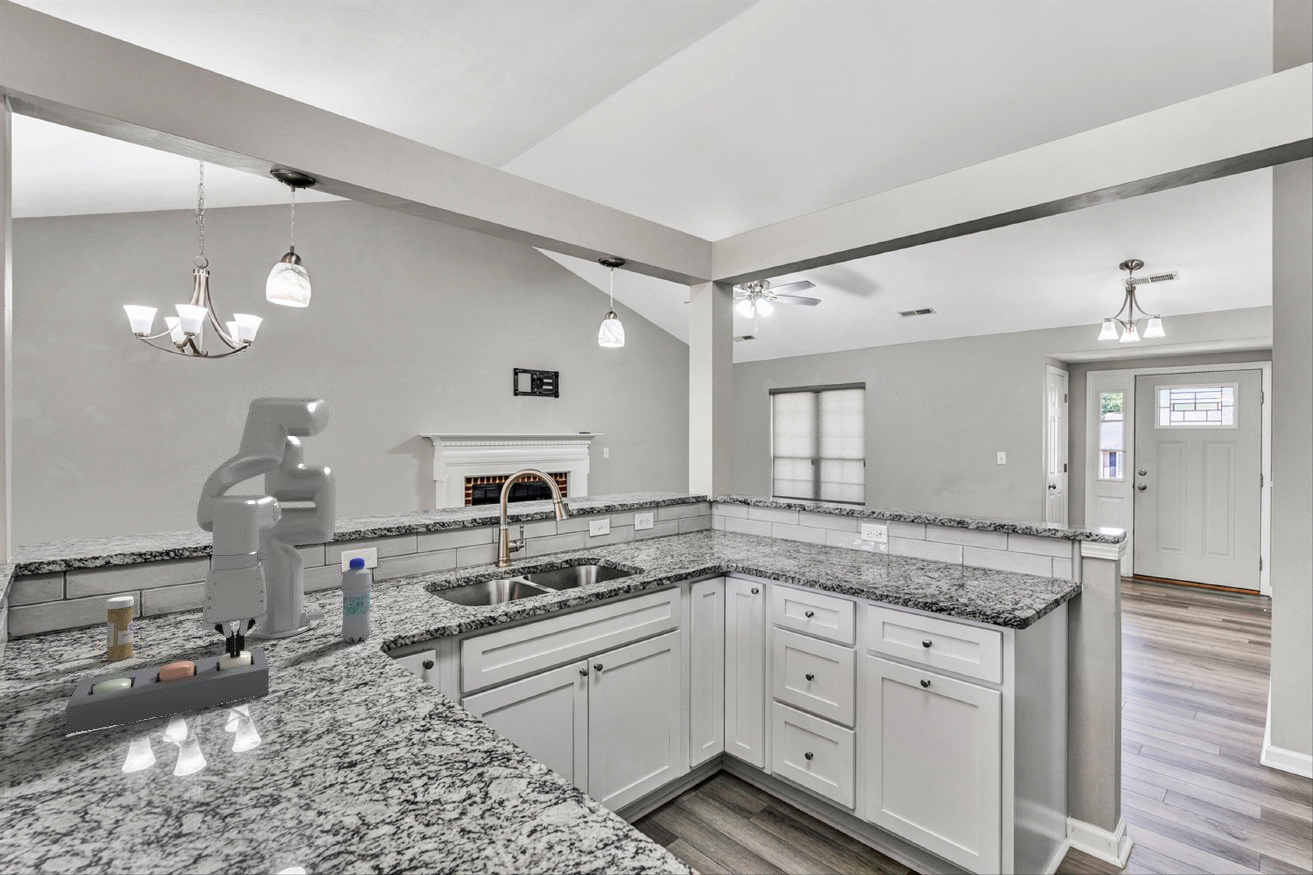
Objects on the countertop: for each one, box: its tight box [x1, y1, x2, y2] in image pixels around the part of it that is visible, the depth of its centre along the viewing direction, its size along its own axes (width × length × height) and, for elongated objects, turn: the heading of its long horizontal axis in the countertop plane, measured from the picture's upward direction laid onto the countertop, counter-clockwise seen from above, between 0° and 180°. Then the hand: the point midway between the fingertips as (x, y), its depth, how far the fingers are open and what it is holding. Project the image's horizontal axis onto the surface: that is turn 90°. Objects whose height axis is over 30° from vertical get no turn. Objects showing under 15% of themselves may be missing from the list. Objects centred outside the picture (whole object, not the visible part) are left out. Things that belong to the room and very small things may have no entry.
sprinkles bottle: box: [105, 595, 135, 662], centre depth 134 cm, size 5×5×14 cm
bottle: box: [341, 557, 373, 643], centre depth 147 cm, size 7×7×20 cm
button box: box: [65, 648, 270, 735], centre depth 112 cm, size 28×14×5 cm, turn 127°
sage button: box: [93, 678, 131, 695], centre depth 106 cm, size 5×5×4 cm
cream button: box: [220, 650, 251, 671], centre depth 117 cm, size 5×5×4 cm
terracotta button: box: [160, 660, 194, 682], centre depth 112 cm, size 5×5×4 cm
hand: (235, 655), depth 117 cm, fingers closed
